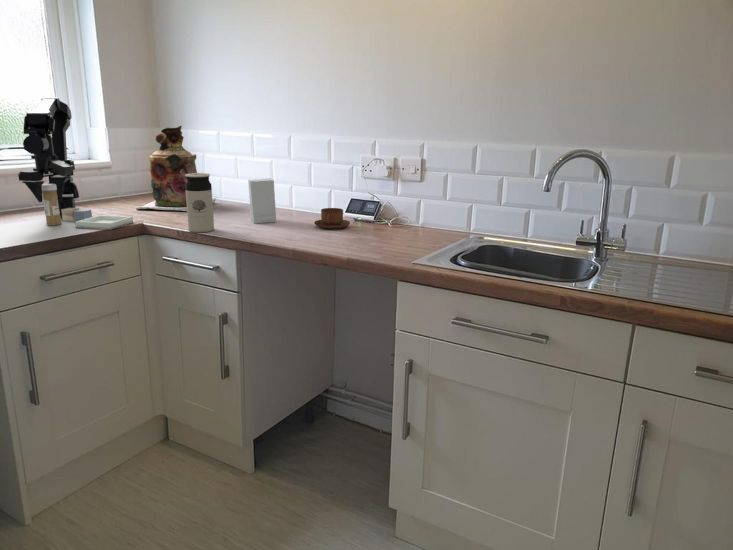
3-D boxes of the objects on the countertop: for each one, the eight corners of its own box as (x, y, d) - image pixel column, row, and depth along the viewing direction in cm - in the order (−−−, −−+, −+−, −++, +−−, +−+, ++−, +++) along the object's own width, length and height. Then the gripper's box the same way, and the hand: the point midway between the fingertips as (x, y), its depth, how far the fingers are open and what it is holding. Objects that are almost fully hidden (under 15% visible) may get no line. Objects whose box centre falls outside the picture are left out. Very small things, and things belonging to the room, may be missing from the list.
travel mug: (193, 227, 187) (189, 172, 182) (217, 228, 187) (213, 173, 182) (185, 232, 179) (180, 175, 174) (210, 233, 179) (206, 175, 174)
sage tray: (100, 220, 197) (99, 215, 196) (133, 222, 195) (132, 216, 194) (76, 227, 185) (75, 221, 184) (111, 229, 183) (110, 223, 182)
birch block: (70, 218, 201) (69, 207, 199) (80, 219, 200) (79, 208, 199) (62, 220, 197) (61, 209, 196) (73, 221, 196) (71, 209, 195)
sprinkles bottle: (62, 224, 189) (56, 184, 185) (46, 226, 187) (41, 185, 183) (60, 222, 193) (55, 183, 189) (45, 224, 190) (39, 183, 187)
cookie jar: (163, 201, 242) (156, 124, 234) (218, 203, 239) (213, 125, 230) (133, 210, 219) (124, 125, 210) (193, 212, 216) (187, 126, 207)
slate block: (82, 220, 198) (80, 209, 197) (92, 221, 197) (91, 209, 196) (74, 222, 194) (73, 211, 193) (85, 223, 193) (83, 211, 192)
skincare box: (273, 219, 203) (271, 178, 199) (276, 222, 198) (275, 179, 193) (249, 221, 200) (247, 178, 196) (252, 224, 195) (250, 180, 191)
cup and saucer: (352, 230, 186) (352, 212, 184) (315, 231, 184) (315, 212, 183) (347, 224, 198) (347, 206, 196) (313, 224, 196) (312, 207, 194)
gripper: (45, 154, 173) (52, 205, 177) (84, 150, 191) (90, 197, 195) (13, 153, 175) (21, 203, 179) (55, 150, 193) (61, 195, 197)
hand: (50, 200), depth 188 cm, fingers open, 9 cm apart
